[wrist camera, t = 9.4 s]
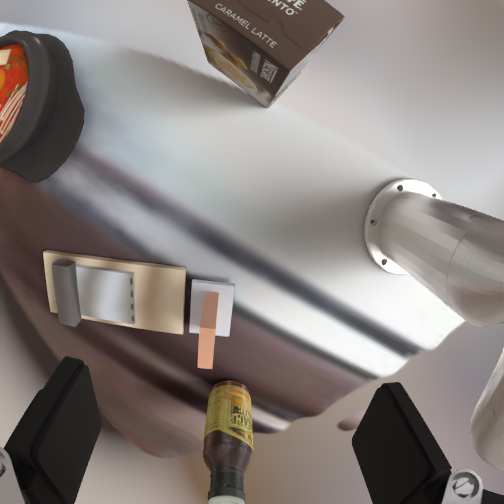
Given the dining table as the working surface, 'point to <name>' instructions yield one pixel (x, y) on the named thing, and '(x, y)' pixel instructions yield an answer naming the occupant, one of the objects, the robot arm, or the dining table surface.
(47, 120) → the casserole
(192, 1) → the coffee box
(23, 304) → the dining table surface
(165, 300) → the ticket board
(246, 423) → the sauce bottle
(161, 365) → the dining table surface
